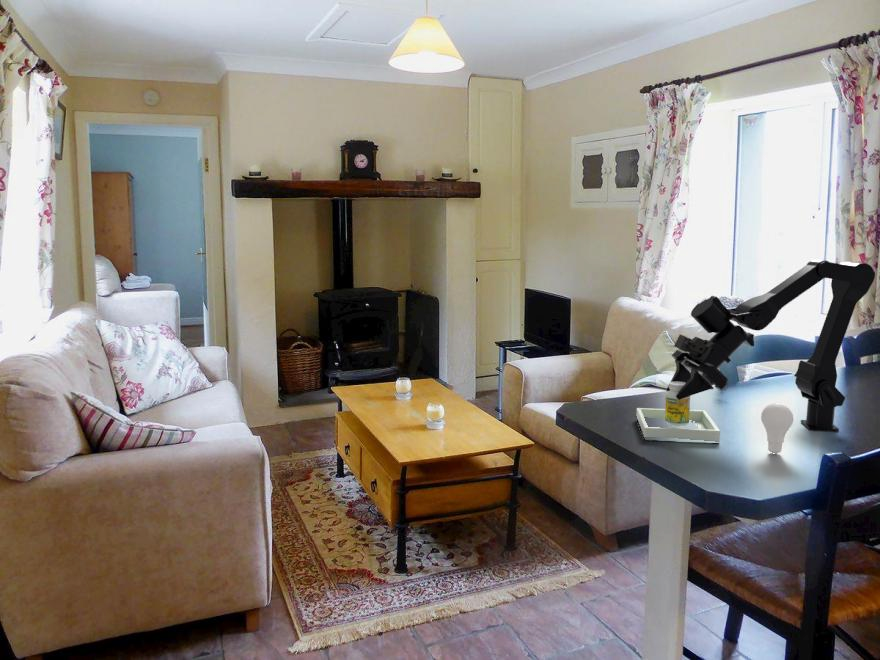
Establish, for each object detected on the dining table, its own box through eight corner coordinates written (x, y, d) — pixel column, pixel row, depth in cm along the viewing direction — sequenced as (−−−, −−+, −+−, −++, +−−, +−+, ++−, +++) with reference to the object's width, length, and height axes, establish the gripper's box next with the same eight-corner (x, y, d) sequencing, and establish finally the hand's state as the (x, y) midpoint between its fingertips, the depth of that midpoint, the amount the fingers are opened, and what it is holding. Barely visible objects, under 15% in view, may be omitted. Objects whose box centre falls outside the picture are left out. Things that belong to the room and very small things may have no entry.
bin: (719, 444, 157) (720, 430, 156) (644, 440, 159) (644, 427, 159) (704, 422, 172) (705, 410, 172) (636, 419, 175) (636, 408, 174)
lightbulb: (794, 453, 151) (798, 403, 149) (785, 461, 146) (789, 409, 144) (764, 447, 155) (767, 398, 153) (754, 454, 150) (758, 404, 148)
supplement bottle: (690, 421, 166) (692, 381, 165) (687, 428, 162) (688, 387, 160) (667, 418, 169) (668, 379, 167) (662, 425, 164) (664, 384, 163)
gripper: (681, 316, 171) (635, 362, 172) (716, 329, 152) (664, 381, 154) (711, 347, 173) (665, 393, 174) (750, 364, 154) (698, 415, 155)
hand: (672, 394), depth 164 cm, fingers closed on supplement bottle, 5 cm apart
